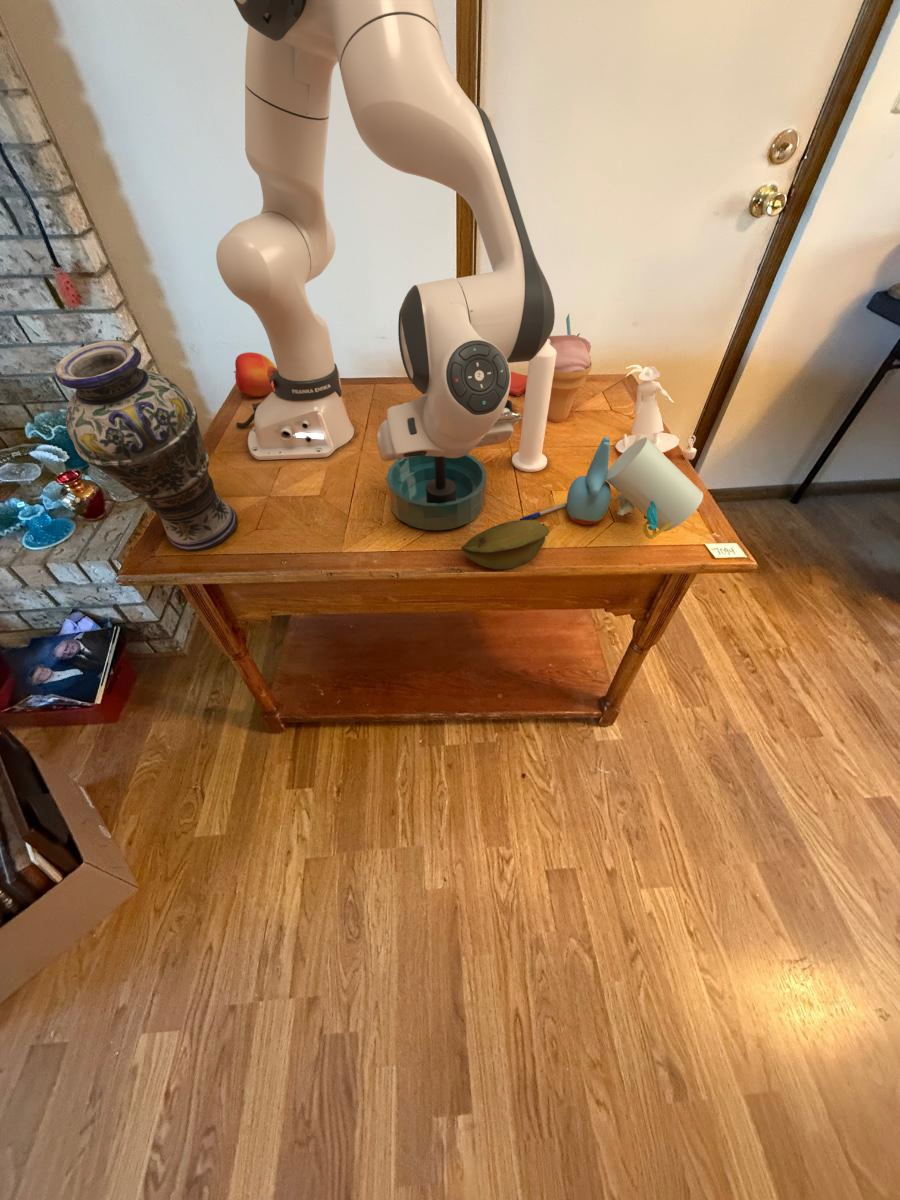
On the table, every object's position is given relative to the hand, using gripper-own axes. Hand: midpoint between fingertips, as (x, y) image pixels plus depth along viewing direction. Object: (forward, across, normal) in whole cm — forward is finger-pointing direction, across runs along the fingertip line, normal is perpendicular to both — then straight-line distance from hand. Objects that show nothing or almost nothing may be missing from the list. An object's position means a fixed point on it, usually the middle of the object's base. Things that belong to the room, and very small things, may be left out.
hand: (438, 449), depth 81 cm
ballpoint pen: (+4, -18, +12) cm, 22 cm away
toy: (-8, -25, +4) cm, 27 cm away
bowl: (+10, 0, +7) cm, 13 cm away
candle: (+16, -21, +2) cm, 27 cm away
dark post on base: (+6, 0, +7) cm, 10 cm away
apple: (+46, +27, -33) cm, 63 cm away
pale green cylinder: (-4, -29, +8) cm, 30 cm away
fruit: (-1, -8, +19) cm, 21 cm away
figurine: (+14, -47, +6) cm, 50 cm away
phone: (+32, -17, -14) cm, 39 cm away
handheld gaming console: (+36, -32, -20) cm, 52 cm away
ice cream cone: (+27, -33, -9) cm, 44 cm away
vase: (+12, +42, +4) cm, 44 cm away
